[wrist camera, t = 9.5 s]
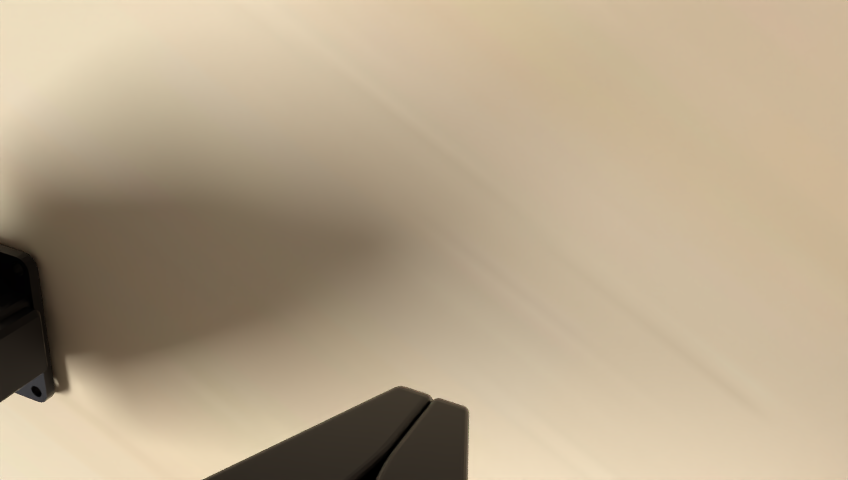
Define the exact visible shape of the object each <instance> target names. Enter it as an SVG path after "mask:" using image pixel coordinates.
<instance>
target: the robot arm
mask: <svg viewBox="0 0 848 480" xmlns="http://www.w3.org/2000/svg"><path fill="white" fill-rule="evenodd" d="M13 393H17V394H20V395H22V396H25V397H27V398H30V399H33V400H35V401H38V402H45V401H46V400H47V399H49V398H50V397H52V396H53V394H54V383H53V375H52V368H51V361H50V354H49V347H48V340H47V332H46V325H45V318H44V311H43V304H42V297H41V289H40V282H39V275H38V268H37V265H36V262H35V261H34V259H33V258H32V257H31V256H30V255H29V254H27V253H25V252H22V251H19V250H16V249H13V248H10V247H7V246H4V245H1V244H0V402H2V401H3V400H5V399H6V398H7V397H9V396H10V395H12V394H13ZM468 441H469V411H468V409H467V408H466V407H465V406H462V405H459V404H456V403H453V402H450V401H447V400H444V399H441V398H437V399H434V400H433V399H432V398H431V396H430V395H428V394H426V393H423V392H420V391H416V390H413V389H410V388H407V387H403V386H398V387H395V388H393V389H391V390H389V391H386V392H384V393H382V394H380V395H378V396H376V397H374V398H372V399H370V400H368V401H366V402H363V403H361V404H359V405H357V406H355V407H353V408H351V409H349V410H347V411H345V412H343V413H341V414H338V415H336V416H334V417H332V418H330V419H328V420H326V421H324V422H322V423H320V424H318V425H316V426H313V427H311V428H309V429H307V430H305V431H303V432H301V433H299V434H297V435H295V436H293V437H290V438H288V439H286V440H284V441H282V442H280V443H278V444H276V445H274V446H272V447H270V448H268V449H265V450H263V451H261V452H259V453H257V454H255V455H253V456H251V457H249V458H247V459H245V460H243V461H240V462H238V463H236V464H234V465H232V466H230V467H228V468H226V469H224V470H222V471H220V472H217V473H215V474H213V475H211V476H209V477H207V478H205V479H203V480H468Z"/></svg>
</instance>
